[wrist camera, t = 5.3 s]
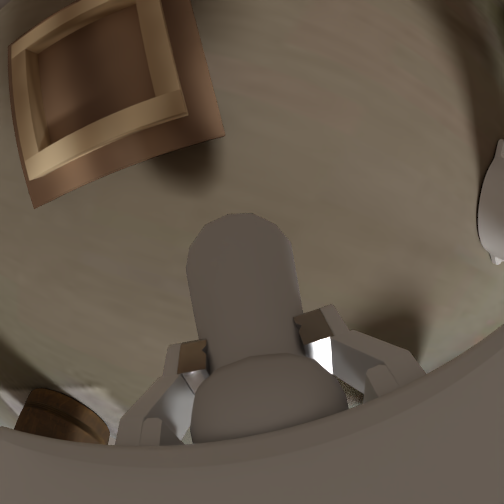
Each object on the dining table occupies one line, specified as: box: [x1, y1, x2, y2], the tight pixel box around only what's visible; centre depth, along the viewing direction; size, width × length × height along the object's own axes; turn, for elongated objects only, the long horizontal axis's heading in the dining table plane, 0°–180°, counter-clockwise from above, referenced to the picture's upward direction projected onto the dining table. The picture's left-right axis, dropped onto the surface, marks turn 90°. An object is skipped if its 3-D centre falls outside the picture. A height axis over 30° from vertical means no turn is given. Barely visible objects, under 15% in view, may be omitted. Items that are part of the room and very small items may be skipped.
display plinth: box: [8, 0, 225, 209], centre depth 14 cm, size 16×16×5 cm
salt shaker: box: [186, 213, 349, 444], centre depth 11 cm, size 6×6×13 cm
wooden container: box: [14, 388, 110, 445], centre depth 20 cm, size 15×15×22 cm
